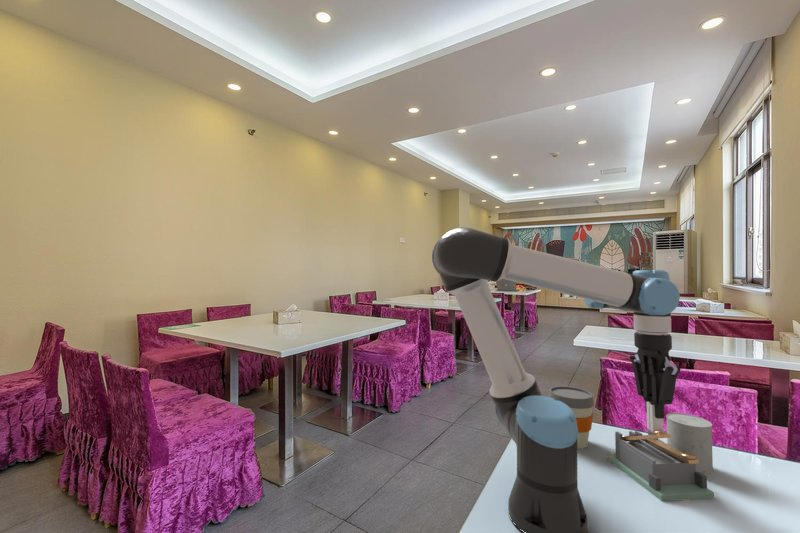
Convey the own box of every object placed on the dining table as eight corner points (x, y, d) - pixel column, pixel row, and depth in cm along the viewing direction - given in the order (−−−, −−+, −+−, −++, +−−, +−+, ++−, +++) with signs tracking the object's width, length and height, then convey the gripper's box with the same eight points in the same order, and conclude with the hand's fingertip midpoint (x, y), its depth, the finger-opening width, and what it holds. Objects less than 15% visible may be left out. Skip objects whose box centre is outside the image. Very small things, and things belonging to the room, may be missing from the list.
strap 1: (661, 439, 82) (658, 431, 83) (620, 441, 95) (618, 434, 96) (672, 439, 82) (669, 431, 83) (630, 441, 96) (627, 434, 96)
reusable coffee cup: (542, 432, 114) (542, 385, 115) (581, 432, 114) (580, 386, 114) (559, 451, 101) (559, 399, 102) (603, 452, 101) (602, 399, 102)
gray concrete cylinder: (661, 454, 100) (660, 411, 100) (702, 460, 97) (701, 415, 97) (675, 472, 91) (674, 424, 91) (721, 479, 88) (720, 429, 88)
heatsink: (661, 500, 79) (660, 463, 79) (607, 459, 97) (607, 429, 97) (714, 497, 80) (713, 461, 81) (651, 457, 98) (650, 428, 98)
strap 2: (688, 465, 81) (687, 457, 81) (638, 439, 96) (638, 433, 96) (699, 464, 82) (698, 457, 82) (648, 439, 96) (647, 433, 97)
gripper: (690, 336, 80) (694, 441, 80) (645, 328, 94) (648, 418, 93) (660, 337, 80) (663, 442, 79) (619, 328, 93) (621, 419, 92)
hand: (655, 429), depth 86 cm, fingers closed
